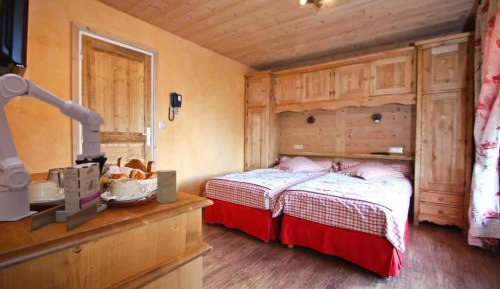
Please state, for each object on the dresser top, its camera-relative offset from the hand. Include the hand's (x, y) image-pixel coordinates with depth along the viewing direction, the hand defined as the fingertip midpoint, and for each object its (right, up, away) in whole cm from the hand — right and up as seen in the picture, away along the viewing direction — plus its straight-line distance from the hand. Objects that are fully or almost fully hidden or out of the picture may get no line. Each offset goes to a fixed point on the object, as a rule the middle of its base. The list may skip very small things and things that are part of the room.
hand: (92, 176), depth 96 cm
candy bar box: (+9, -10, -18) cm, 22 cm away
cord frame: (+8, -10, -11) cm, 17 cm away
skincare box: (+30, -10, -1) cm, 32 cm away
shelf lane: (+8, -10, -24) cm, 27 cm away
